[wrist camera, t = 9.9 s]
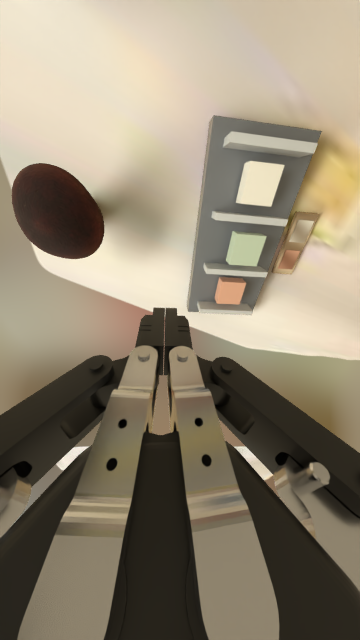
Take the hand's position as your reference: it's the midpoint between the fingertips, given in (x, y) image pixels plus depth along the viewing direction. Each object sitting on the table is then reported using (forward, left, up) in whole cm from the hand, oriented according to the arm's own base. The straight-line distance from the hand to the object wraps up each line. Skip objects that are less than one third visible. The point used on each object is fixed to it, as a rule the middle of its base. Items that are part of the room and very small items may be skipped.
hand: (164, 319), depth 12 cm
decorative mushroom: (-3, -14, -29) cm, 33 cm away
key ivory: (-9, +14, -27) cm, 32 cm away
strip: (0, +27, -29) cm, 39 cm away
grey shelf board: (0, +14, -29) cm, 32 cm away
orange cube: (+9, +14, -27) cm, 32 cm away
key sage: (0, +14, -26) cm, 29 cm away
